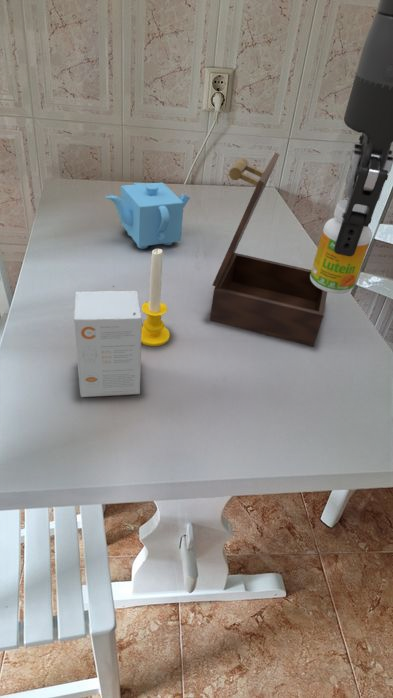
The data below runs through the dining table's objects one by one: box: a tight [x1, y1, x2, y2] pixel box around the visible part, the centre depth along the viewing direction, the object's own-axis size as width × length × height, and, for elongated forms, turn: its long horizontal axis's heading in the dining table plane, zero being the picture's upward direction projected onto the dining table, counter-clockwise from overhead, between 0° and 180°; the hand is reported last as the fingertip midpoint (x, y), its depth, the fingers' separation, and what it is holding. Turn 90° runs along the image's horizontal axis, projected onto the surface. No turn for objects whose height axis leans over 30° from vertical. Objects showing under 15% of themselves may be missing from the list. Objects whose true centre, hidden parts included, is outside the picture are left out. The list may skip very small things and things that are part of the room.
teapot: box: [104, 181, 191, 249], centre depth 99 cm, size 16×18×11 cm
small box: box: [73, 290, 143, 398], centre depth 64 cm, size 8×6×13 cm
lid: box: [212, 152, 280, 288], centre depth 77 cm, size 18×14×5 cm
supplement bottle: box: [310, 199, 374, 295], centre depth 56 cm, size 5×5×10 cm
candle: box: [141, 246, 171, 347], centre depth 72 cm, size 5×5×16 cm
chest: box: [209, 252, 328, 348], centre depth 84 cm, size 18×14×6 cm
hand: (344, 241), depth 56 cm, fingers closed on supplement bottle, 5 cm apart
